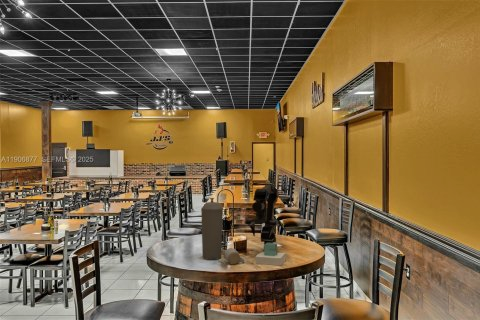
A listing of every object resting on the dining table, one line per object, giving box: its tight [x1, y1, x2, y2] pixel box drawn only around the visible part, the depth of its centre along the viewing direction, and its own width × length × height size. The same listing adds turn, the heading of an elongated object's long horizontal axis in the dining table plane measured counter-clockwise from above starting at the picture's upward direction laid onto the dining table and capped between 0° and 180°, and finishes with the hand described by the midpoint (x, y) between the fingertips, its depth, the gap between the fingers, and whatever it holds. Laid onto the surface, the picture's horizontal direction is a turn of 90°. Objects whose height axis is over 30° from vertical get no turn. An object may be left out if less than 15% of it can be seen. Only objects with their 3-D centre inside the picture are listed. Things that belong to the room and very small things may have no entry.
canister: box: [200, 197, 224, 261], centre depth 251 cm, size 13×13×35 cm
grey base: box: [254, 250, 287, 267], centre depth 241 cm, size 14×14×4 cm
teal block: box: [263, 242, 278, 256], centre depth 241 cm, size 6×6×6 cm
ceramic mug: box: [223, 247, 246, 265], centre depth 239 cm, size 11×8×8 cm
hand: (261, 236), depth 253 cm, fingers open, 9 cm apart
